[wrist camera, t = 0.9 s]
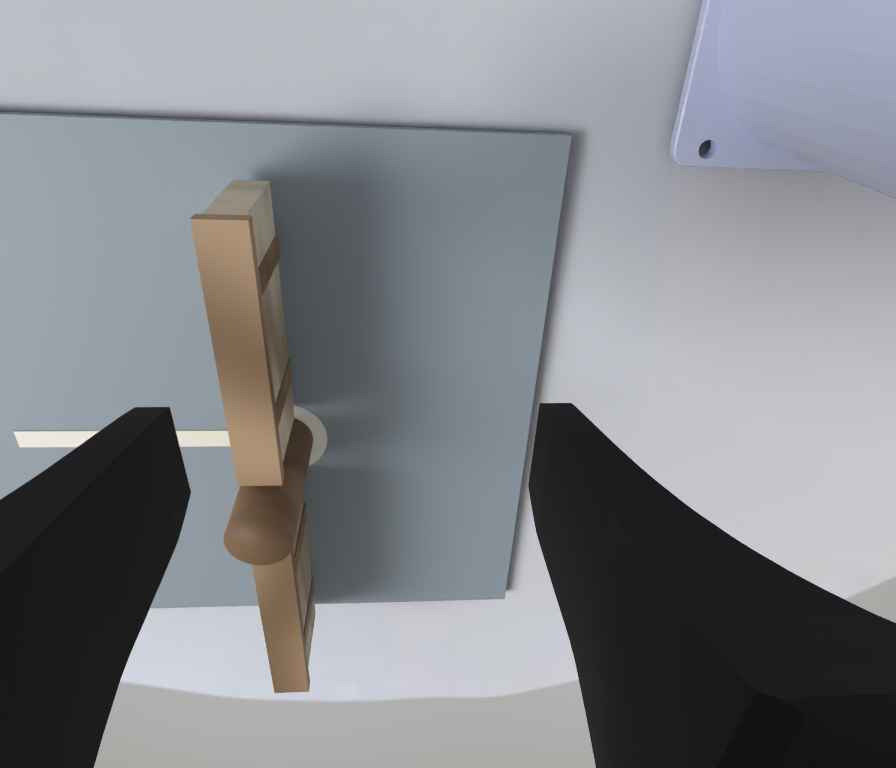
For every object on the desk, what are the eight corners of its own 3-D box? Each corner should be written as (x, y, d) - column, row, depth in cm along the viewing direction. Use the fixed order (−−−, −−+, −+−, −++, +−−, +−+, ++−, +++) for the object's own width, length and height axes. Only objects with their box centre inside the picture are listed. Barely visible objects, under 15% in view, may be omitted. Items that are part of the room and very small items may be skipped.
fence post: (312, 408, 22) (289, 516, 18) (328, 596, 28) (314, 716, 23) (256, 408, 22) (218, 517, 17) (283, 597, 27) (260, 718, 23)
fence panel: (299, 414, 21) (282, 485, 18) (261, 414, 21) (237, 486, 18) (275, 180, 17) (248, 220, 14) (227, 179, 17) (189, 219, 14)
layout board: (568, 132, 18) (572, 136, 17) (503, 591, 28) (504, 600, 28) (-176, 104, 16) (-190, 107, 16) (50, 603, 27) (45, 612, 26)
